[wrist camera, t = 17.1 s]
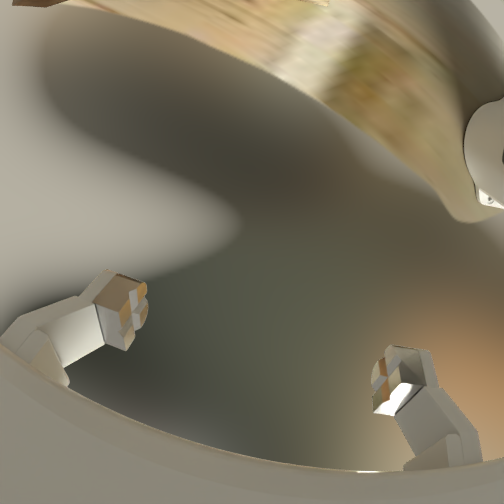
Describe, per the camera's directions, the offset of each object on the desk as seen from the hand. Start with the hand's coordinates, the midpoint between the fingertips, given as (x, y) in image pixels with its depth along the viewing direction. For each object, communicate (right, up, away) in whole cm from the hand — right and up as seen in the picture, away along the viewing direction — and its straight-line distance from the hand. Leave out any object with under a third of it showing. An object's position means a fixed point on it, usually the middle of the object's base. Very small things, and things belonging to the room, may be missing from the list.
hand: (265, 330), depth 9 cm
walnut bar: (-9, +26, -5) cm, 28 cm away
